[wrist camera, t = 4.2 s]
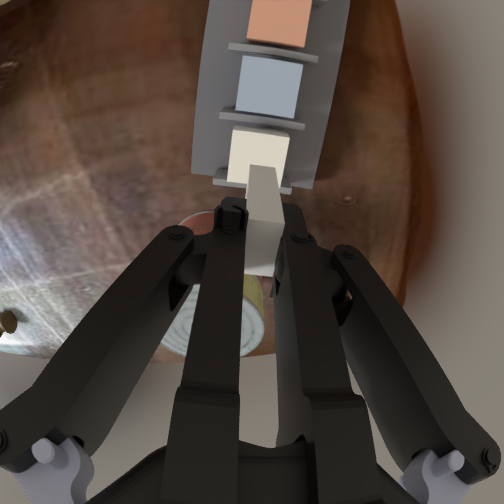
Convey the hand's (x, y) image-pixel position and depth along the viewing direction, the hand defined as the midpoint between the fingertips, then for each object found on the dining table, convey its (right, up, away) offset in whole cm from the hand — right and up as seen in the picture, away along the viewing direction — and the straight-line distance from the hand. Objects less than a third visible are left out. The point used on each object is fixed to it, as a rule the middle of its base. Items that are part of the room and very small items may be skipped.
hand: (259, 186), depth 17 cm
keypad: (+1, +14, +5) cm, 15 cm away
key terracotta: (+2, +15, +1) cm, 15 cm away
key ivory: (0, +5, +7) cm, 8 cm away
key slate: (+1, +10, +3) cm, 10 cm away
